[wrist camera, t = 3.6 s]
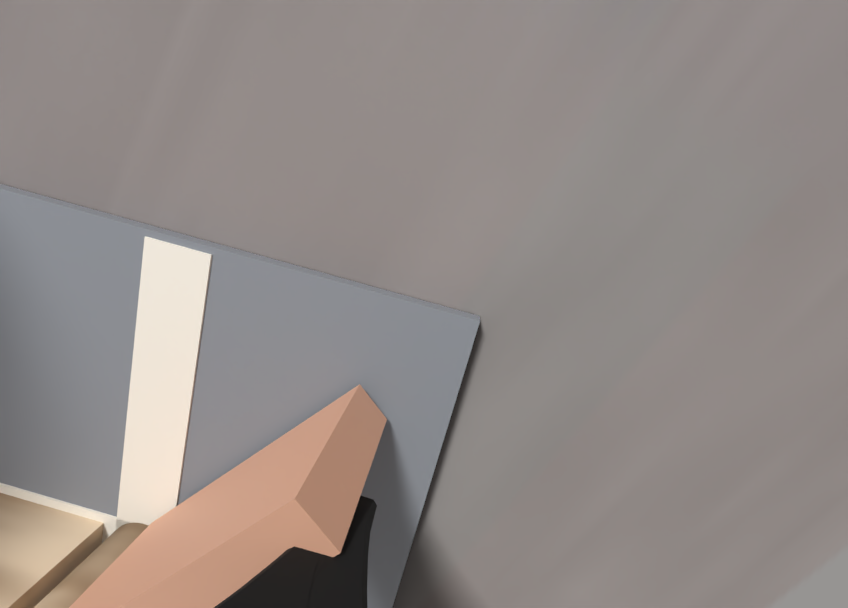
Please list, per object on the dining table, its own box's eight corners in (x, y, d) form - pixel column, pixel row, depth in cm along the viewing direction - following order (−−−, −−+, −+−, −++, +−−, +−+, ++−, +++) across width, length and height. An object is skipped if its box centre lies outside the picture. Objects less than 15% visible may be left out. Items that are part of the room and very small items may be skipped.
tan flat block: (178, 551, 13) (34, 728, 9) (151, 522, 13) (-9, 687, 8) (387, 419, 11) (340, 553, 7) (359, 384, 11) (294, 498, 7)
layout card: (-74, 565, 15) (-94, 578, 15) (-87, 159, 12) (-114, 157, 11) (363, 695, 15) (359, 714, 14) (479, 316, 11) (480, 321, 11)
